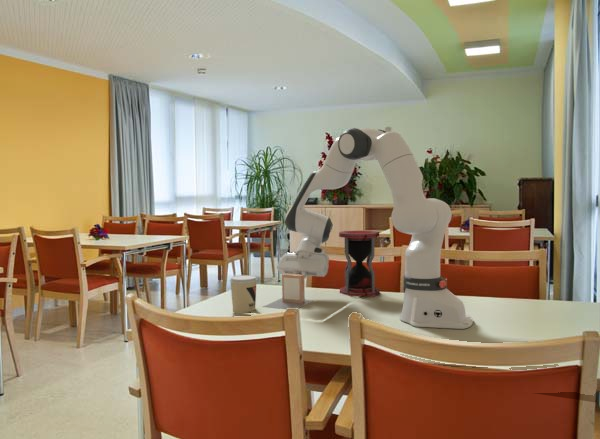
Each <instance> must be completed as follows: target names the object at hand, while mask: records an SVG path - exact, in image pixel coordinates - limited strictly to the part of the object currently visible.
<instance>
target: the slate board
mask: <svg viewBox="0 0 600 439" xmlns="http://www.w3.org/2000/svg"><path fill="white" fill-rule="evenodd" d="M312 302H314V299H313V300H312V299H305V302H303V303H297V302H287V301H282V297H281V298H279V299H277V300H274V301H272V302H270V303H268V304H265V305H263V306H262V308H268V309H270V308H271V309H279V310H280V309H281V310H288V309H287V308H298V309H300V308H302V307H305V306H306V305H309V304H310V303H312Z"/></svg>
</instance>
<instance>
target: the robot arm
mask: <svg viewBox="0 0 600 439" xmlns="http://www.w3.org/2000/svg"><path fill="white" fill-rule="evenodd" d="M375 160H376V161H377V162H378V163H379V166H380V169H381V170H382V173H383V174H384V178H385V179H386V183H387V184H388V186H389V189H390V191H391V192H390V193H391V195H392V201H393V209H392V212H391V217H390V219H391V222H392V225H393V227H394V229H395V230H397V231H398V232H400V233H403V234H407V235H411V239H410V242H409V244H408V246H407V248H406V249H405V252H404V275H403V280H402V281H403V282H402V283H403V284H402V289H403V302H402V303H403V305H402V309H401V314H400V316H399V319H400V321H402V322H405V323H407V324H410V325H411V326H413V327H417V328H418V327H419V328H436V329H437V328H440V329H453V330H454V329H455V330H456V329H457V330H464V329H467V328H470V327H472V325H473V324H474V320H473V317H472V316H470V315H467V312H466V307H465V304H464V302H463V301H462V299H461V298H459V297H458V296H456V295H455V294H454V293H452V292H451V291H450V289H448V288H447V287H448V279H447V278H445V277H443V276H442V275H441V252H442V246H443V242H444V238H445V233H446V231H447V228H448V225H449V224H450V222H451V220H452V217H453V216H452V215H453V213H452V209H451V208H450V206H449V204H448V203H446V202H445V201H444V200H441V199H437V198H435V197H434V198H431V197H430V198H429V197H428V198H426V196H425V195H424V189H423V180H424V175H423V173H422V171H421V169H420V167H419V165H418V163H417V161H416V158H415V157H414V154H413V153H412V150H411V149H410V147H409V145H408V144H407V142H406V141H405V139H404V138H403V137H402V135H401V134H400V133H399V132H397V131H391V130H390V131H386V130H384V129H376V128H375V129H374V128H369V127H360V128H359V127H357V128H356V127H352V128H349V129H346V130H343V132H342V133H340V135H339V137H337V138H336V139H334V141H333V143H332V145H331V147H329V150H328V152H327V155H326V157H325V160H324V163H323V165H322V166H321V167H320V168H319V169H318V170H314V171H312V172H311V173H310V174H309V175H308V178H307V179H306V181H305V182H304V184H303V186H302V188H301V190H299V191H300V192H299V193H298V194H297V197H296V199H295V201H294V202H293V204H292V205H291V206H290V208H289V209H288V210H287V212H286V214H285V216H284V225H285V227H286V228H287V230H288V231H291V232H295V233H299V234H302V236H301V240H300V242H299V244H298V245H297V249H296V251H295V252H285V253H284V254H283V255H282V256H281V259H280V260H279V261H278V263H277V265H276V269H277V271H278V272H279V274H280V275H282V274H299V275H304V280H305V279H307V277H308V276H310V277H323V278H324V277H325V276H326V275H327V274H328V272H329V271H328V270H329V262H330V258H329V254H328V253H327V251H326V250H325V249H324V248H321V247H322V245H324V244H323V243H325V242H327V241H328V240H329V237H330V233H331V232H332V229H333V222H332V220H331V218H330V217H329V216H327V215H324V214H322V213H319V212H315V211H313V210H311V209H308V208H305V204H306V203H307V201H308V199H309V197H310V195H311V194H312V193H313V192H315V191H319V190H337V189H340V188H343V187H344V186H346V185H347V184H348V183H349V182H350V180H351V177H352V176H353V173H354V170H355V167H356V165H357V162H358V161H364V162H365V161H375Z"/></svg>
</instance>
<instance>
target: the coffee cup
mask: <svg viewBox="0 0 600 439" xmlns="http://www.w3.org/2000/svg"><path fill="white" fill-rule="evenodd" d="M229 281H230V292H231V301H232V303H231V304H232V310H233V313H234V314H239V315H245V314H252V313H253V312H252V311H254V310H256V302H257V300H256V299H257V281H258V279H257V276H255V275H250V274H249V275H246V274H244V275H234V276H230V279H229Z"/></svg>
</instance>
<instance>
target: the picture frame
mask: <svg viewBox="0 0 600 439" xmlns="http://www.w3.org/2000/svg"><path fill="white" fill-rule="evenodd" d="M281 284H282V285H281V286H282V288H281V291H282V292H281V295H282V297H281V298H282V301H287V302H297V303H303V302H305V300H306V298H305V297H306V295H305V292H306V291H305V279H304V275H299V274H281Z"/></svg>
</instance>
